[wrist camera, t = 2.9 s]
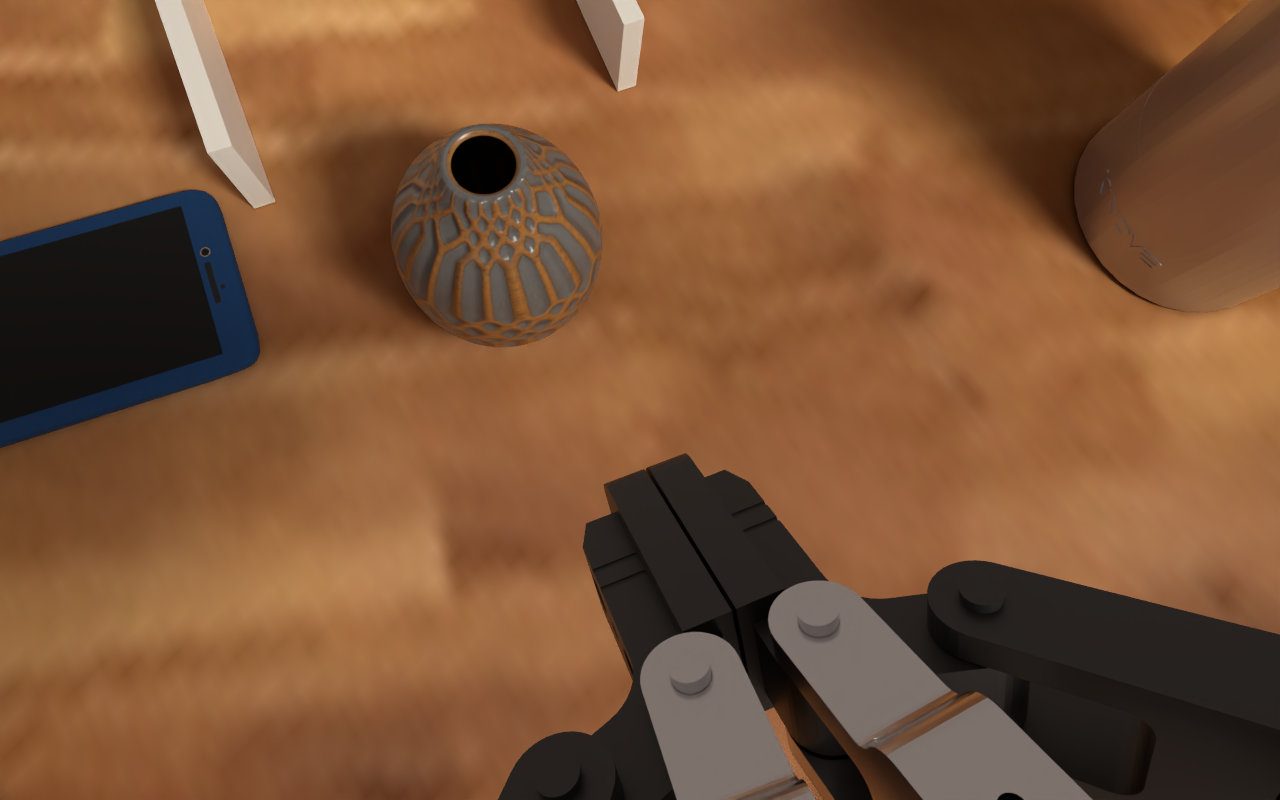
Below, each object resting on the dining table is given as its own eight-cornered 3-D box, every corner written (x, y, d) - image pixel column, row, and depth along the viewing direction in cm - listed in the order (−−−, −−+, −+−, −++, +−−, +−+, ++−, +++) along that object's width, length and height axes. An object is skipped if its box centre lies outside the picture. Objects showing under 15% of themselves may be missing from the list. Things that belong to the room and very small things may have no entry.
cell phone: (-180, 303, 28) (-200, 295, 28) (218, 191, 30) (210, 181, 30) (-144, 497, 27) (-164, 495, 26) (270, 366, 29) (262, 360, 28)
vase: (565, 176, 31) (563, 25, 23) (623, 335, 30) (644, 239, 22) (392, 224, 30) (323, 85, 22) (445, 391, 29) (393, 313, 21)
